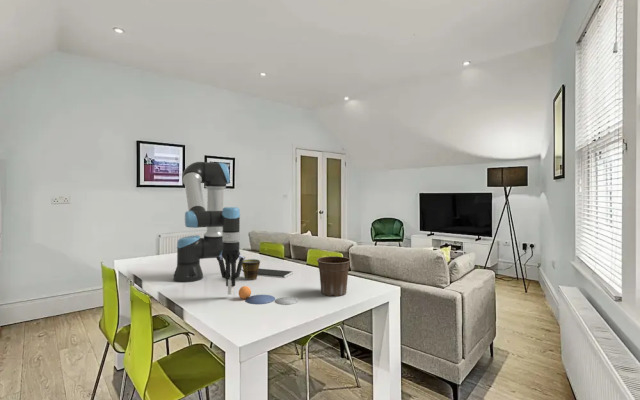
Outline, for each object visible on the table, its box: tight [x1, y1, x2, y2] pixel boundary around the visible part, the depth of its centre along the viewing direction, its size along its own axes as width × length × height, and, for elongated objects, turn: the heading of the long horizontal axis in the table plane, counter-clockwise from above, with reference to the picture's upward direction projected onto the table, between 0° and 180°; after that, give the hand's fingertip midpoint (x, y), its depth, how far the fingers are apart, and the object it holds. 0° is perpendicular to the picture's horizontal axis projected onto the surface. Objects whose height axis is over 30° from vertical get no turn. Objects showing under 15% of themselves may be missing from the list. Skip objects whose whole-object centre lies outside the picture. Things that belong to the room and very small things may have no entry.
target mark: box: [245, 294, 276, 305], centre depth 148 cm, size 13×13×1 cm
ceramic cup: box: [241, 258, 261, 281], centre depth 183 cm, size 13×10×10 cm
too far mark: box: [274, 296, 299, 306], centre depth 146 cm, size 10×10×1 cm
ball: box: [238, 285, 252, 300], centre depth 149 cm, size 6×6×6 cm
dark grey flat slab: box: [257, 268, 295, 279], centre depth 197 cm, size 13×27×2 cm, turn 72°
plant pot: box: [316, 255, 351, 297], centre depth 159 cm, size 16×16×16 cm
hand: (230, 293), depth 150 cm, fingers closed
